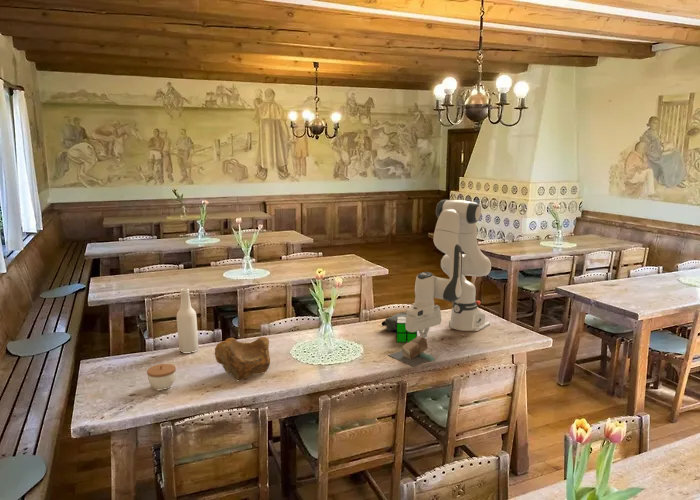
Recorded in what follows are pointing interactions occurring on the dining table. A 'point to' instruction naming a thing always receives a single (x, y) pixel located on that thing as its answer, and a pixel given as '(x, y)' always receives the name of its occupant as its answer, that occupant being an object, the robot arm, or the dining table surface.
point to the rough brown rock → (243, 357)
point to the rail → (426, 356)
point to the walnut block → (414, 347)
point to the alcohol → (187, 324)
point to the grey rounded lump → (393, 321)
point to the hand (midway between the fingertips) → (423, 337)
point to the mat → (411, 362)
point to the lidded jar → (161, 375)
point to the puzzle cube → (404, 331)
